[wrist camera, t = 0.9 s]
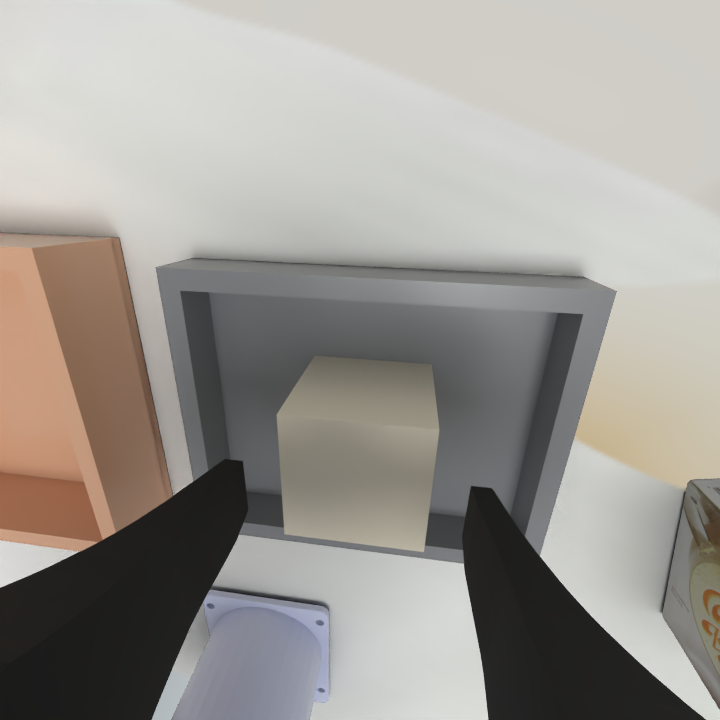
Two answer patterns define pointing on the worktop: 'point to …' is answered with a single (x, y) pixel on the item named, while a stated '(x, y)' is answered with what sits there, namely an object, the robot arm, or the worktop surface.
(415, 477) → the stone block
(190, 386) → the tray
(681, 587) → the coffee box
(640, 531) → the worktop surface
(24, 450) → the bin
